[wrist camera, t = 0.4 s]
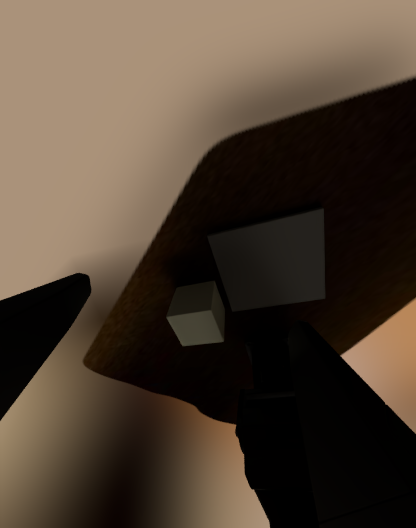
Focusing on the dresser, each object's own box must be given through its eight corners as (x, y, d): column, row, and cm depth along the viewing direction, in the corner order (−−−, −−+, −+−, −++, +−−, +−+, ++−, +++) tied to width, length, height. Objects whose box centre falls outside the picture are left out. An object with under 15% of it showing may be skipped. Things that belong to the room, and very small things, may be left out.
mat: (323, 295, 24) (325, 298, 24) (232, 308, 27) (232, 311, 27) (321, 206, 19) (323, 208, 18) (207, 234, 21) (207, 236, 21)
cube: (225, 309, 27) (223, 341, 23) (190, 314, 28) (182, 346, 24) (214, 280, 25) (210, 310, 21) (176, 287, 26) (166, 316, 22)
